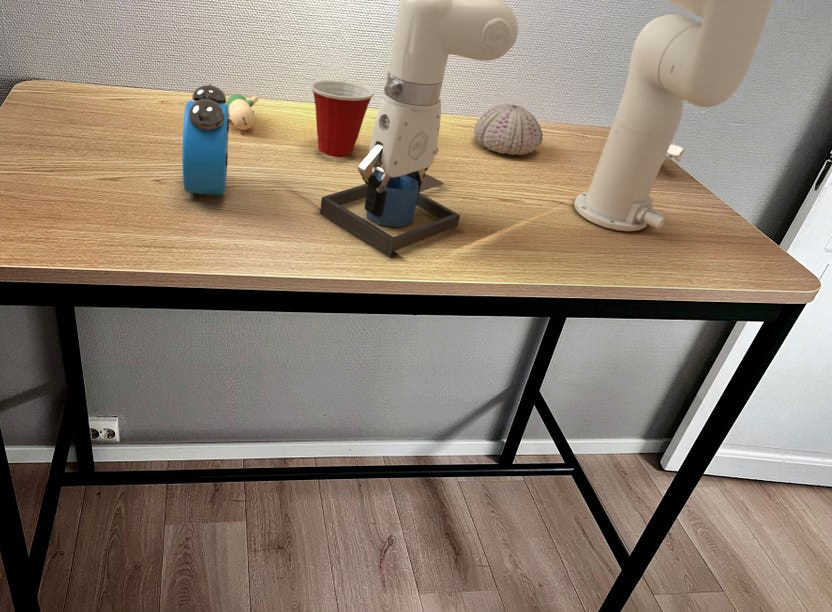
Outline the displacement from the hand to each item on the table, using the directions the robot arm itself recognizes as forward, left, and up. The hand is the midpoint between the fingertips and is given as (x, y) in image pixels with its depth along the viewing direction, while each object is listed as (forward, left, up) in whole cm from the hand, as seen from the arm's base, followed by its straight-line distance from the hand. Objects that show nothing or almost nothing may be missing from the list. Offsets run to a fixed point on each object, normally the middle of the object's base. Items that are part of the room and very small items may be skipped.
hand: (391, 206), depth 110 cm
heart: (-10, -64, -3) cm, 65 cm away
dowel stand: (+8, -13, -3) cm, 16 cm away
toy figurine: (+42, -3, -3) cm, 42 cm away
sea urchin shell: (+10, -44, -3) cm, 45 cm away
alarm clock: (+22, +18, -3) cm, 29 cm away
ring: (0, 0, -2) cm, 2 cm away
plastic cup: (+23, -10, -3) cm, 25 cm away
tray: (0, 0, -3) cm, 3 cm away
